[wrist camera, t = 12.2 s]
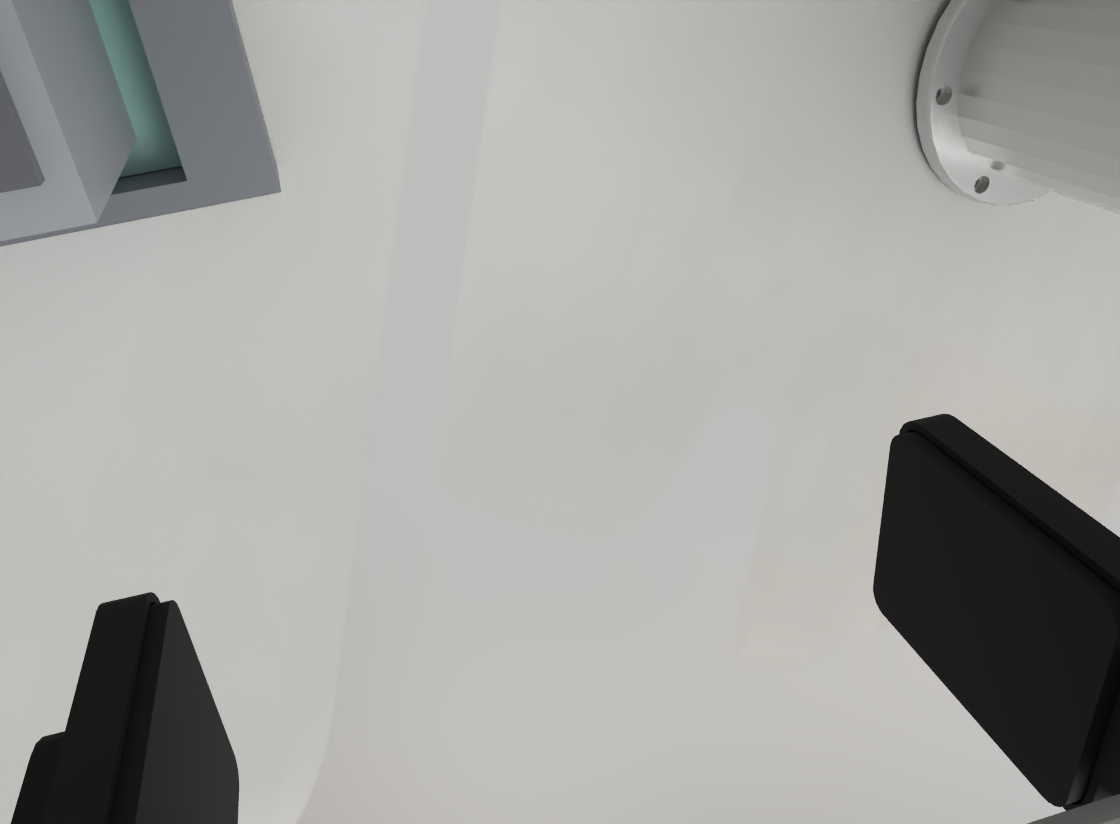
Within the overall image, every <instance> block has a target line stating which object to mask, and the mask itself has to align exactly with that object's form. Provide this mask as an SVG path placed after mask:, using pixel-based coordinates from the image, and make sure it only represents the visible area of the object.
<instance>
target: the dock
mask: <svg viewBox="0 0 1120 824" xmlns="http://www.w3.org/2000/svg"><path fill="white" fill-rule="evenodd" d="M279 192H281V188H280V182H279V175H278V169H277V165H276V162H275V158H274V154H273V151H272V147H271V143H270V140H269V136H268V132H267V129H266V125H265V121H264V118H263V114H262V111H261V107H260V103H259V100H258V96H257V92H256V89H255V85H254V81H253V78H252V74H251V70H250V67H249V63H248V59H247V56H246V52H245V48H244V45H243V41H242V37H241V34H240V30H239V26H238V23H237V19H236V15H235V12H234V8H233V4H232V1H231V0H0V246H5V245H10V244H15V243H20V242H26V241H31V240H36V239H41V238H46V237H51V236H57V235H62V234H67V233H72V232H77V231H82V230H88V229H93V228H98V227H103V226H108V225H113V224H119V223H124V222H129V221H134V220H139V219H144V218H150V217H155V216H160V215H165V214H170V213H176V212H181V211H186V210H191V209H196V208H201V207H207V206H212V205H217V204H222V203H227V202H232V201H238V200H243V199H248V198H253V197H258V196H263V195H269V194H274V193H279Z"/></svg>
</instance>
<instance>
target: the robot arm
mask: <svg viewBox="0 0 1120 824" xmlns="http://www.w3.org/2000/svg"><path fill="white" fill-rule="evenodd" d="M916 106H917V128H918V132H919V136H920V141H921V145H922V149H923V151H924V154H925V156H926V158H927V160H928V162H929V165H930V167H931V168H932V170H933V171H934V172H935V173H936V175H937V176H938V177H939V178H940V180H941V181H942V182H943V183H944V184H945V185H947V186H948V187H949V188H951V189H952V190H953V191H955V192H956V193H958V194H960V195H962V196H965V197H967V198H970V199H972V200H974V201H977V202H981V203H986V204H990V205H1016V204H1020V203H1024V202H1029V201H1033V200H1035V199H1037V198H1040V197H1042V196H1044V195H1046V194H1049V193H1051V192H1055V193H1058V194H1061V195H1064V196H1067V197H1070V198H1073V199H1076V200H1079V201H1082V202H1085V203H1088V204H1091V205H1094V206H1097V207H1100V208H1103V209H1106V210H1109V211H1112V212H1115V213H1119V214H1120V0H951V1H950V3H949V4H948V6H947V8H946V9H945V11H944V13H943V14H942V16H941V18H940V19H939V21H938V24H937V26H936V28H935V31H934V33H933V35H932V38H931V40H930V42H929V45H928V47H927V50H926V54H925V57H924V61H923V65H922V68H921V72H920V76H919V84H918V92H917V100H916ZM873 592H874V597H875V600H876V603H877V605H878V607H879V609H880V611H881V612H882V614H883V615H884V616H885V617H886V618H887V619H888V621H889V622H890V623H891V624H892V625H893V626H894V627H895V628H896V630H897V631H898V632H899V633H900V634H901V635H902V637H903V638H904V639H905V640H906V641H907V642H908V643H909V644H910V646H911V647H912V648H913V649H914V650H915V651H916V652H917V654H918V655H919V656H920V657H921V658H922V659H923V661H924V662H925V663H926V664H927V665H928V666H929V667H930V668H931V669H932V671H933V672H934V673H935V674H936V675H937V676H938V678H939V679H940V680H941V681H942V682H943V683H944V684H945V686H946V687H947V688H948V689H949V690H950V691H951V693H952V694H953V695H954V696H955V697H956V698H957V699H958V700H959V701H960V703H961V704H962V705H963V706H964V707H965V709H966V710H967V711H968V712H969V713H970V714H971V715H972V717H973V718H974V719H975V720H976V721H977V722H978V723H979V725H980V726H981V727H982V728H983V729H984V730H985V731H986V732H987V734H988V735H989V736H990V737H991V738H992V739H993V741H994V742H995V743H996V744H997V745H998V746H999V747H1000V749H1001V750H1002V751H1003V752H1004V753H1005V754H1006V755H1007V757H1008V758H1009V759H1010V760H1011V761H1012V762H1013V763H1014V764H1015V766H1016V767H1017V768H1018V769H1019V770H1020V771H1021V773H1022V774H1023V775H1024V776H1025V777H1026V778H1027V779H1028V780H1029V782H1030V783H1031V784H1032V785H1033V786H1034V787H1035V788H1036V790H1037V791H1038V792H1039V793H1040V794H1041V795H1042V796H1043V797H1044V798H1045V799H1046V800H1047V801H1048V802H1049V803H1051V804H1053V805H1054V806H1058V807H1063V808H1064V809H1065V810H1066V811H1065V812H1062V813H1059V814H1056V815H1053V816H1049V817H1046V818H1043V819H1040V820H1037V821H1034V822H1031V823H1028V824H1120V537H1118V536H1117V535H1115V534H1114V533H1113V532H1111V531H1110V530H1108V529H1107V528H1106V527H1105V526H1103V525H1102V524H1100V523H1099V522H1098V521H1096V520H1095V519H1094V518H1092V517H1091V516H1089V515H1088V514H1087V513H1085V512H1084V511H1083V510H1081V509H1080V508H1079V507H1077V506H1076V505H1074V504H1073V503H1072V502H1070V501H1069V500H1068V499H1066V498H1065V497H1063V496H1062V495H1061V494H1059V493H1058V492H1057V491H1055V490H1054V489H1053V488H1051V487H1050V486H1048V485H1047V484H1046V483H1044V482H1043V481H1042V480H1040V479H1039V478H1038V477H1036V476H1035V475H1033V474H1032V473H1031V472H1029V471H1028V470H1027V469H1025V468H1024V467H1022V466H1021V465H1020V464H1018V463H1017V462H1016V461H1014V460H1013V459H1012V458H1010V457H1009V456H1007V455H1006V454H1005V453H1003V452H1002V451H1001V450H999V449H998V448H996V447H995V446H994V445H992V444H991V443H990V442H988V441H987V440H986V439H984V438H983V437H981V436H980V435H979V434H977V433H976V432H975V431H973V430H972V429H970V428H969V427H968V426H966V425H965V424H964V423H962V422H961V421H960V420H958V419H957V418H955V417H954V416H952V415H950V414H940V415H936V416H932V417H927V418H923V419H918V420H914V421H909V422H907V423H905V424H904V425H903V426H902V428H901V429H900V433H899V435H897V436H895V437H894V438H893V439H892V441H891V445H890V452H889V461H888V469H887V477H886V485H885V494H884V502H883V510H882V518H881V526H880V535H879V543H878V551H877V559H876V568H875V576H874V584H873ZM238 801H239V776H238V768H237V763H236V759H235V756H234V752H233V750H232V747H231V744H230V742H229V739H228V737H227V734H226V731H225V729H224V726H223V723H222V721H221V718H220V715H219V713H218V710H217V707H216V705H215V702H214V699H213V697H212V694H211V691H210V689H209V686H208V684H207V681H206V678H205V676H204V673H203V670H202V668H201V665H200V662H199V660H198V657H197V654H196V652H195V649H194V646H193V644H192V641H191V638H190V636H189V633H188V631H187V628H186V625H185V623H184V620H183V617H182V615H181V612H180V609H179V607H178V605H177V603H176V602H175V601H173V600H171V601H167V602H162V603H160V601H159V599H158V597H157V596H156V595H155V594H154V593H152V592H150V593H145V594H141V595H137V596H132V597H128V598H123V599H119V600H114V601H110V602H106V603H102V604H101V605H99V606H98V609H97V611H96V615H95V618H94V622H93V626H92V630H91V634H90V638H89V641H88V645H87V649H86V653H85V657H84V661H83V665H82V668H81V672H80V676H79V680H78V684H77V688H76V691H75V695H74V699H73V703H72V707H71V711H70V714H69V718H68V722H67V726H66V730H65V732H61V733H57V734H53V735H49V736H44V737H42V738H41V739H40V740H39V741H38V742H37V743H36V745H35V747H34V749H33V752H32V754H31V757H30V760H29V763H28V767H27V770H26V774H25V777H24V780H23V784H22V787H21V791H20V794H19V797H18V801H17V804H16V808H15V811H14V814H13V818H12V821H11V824H238Z"/></svg>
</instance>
